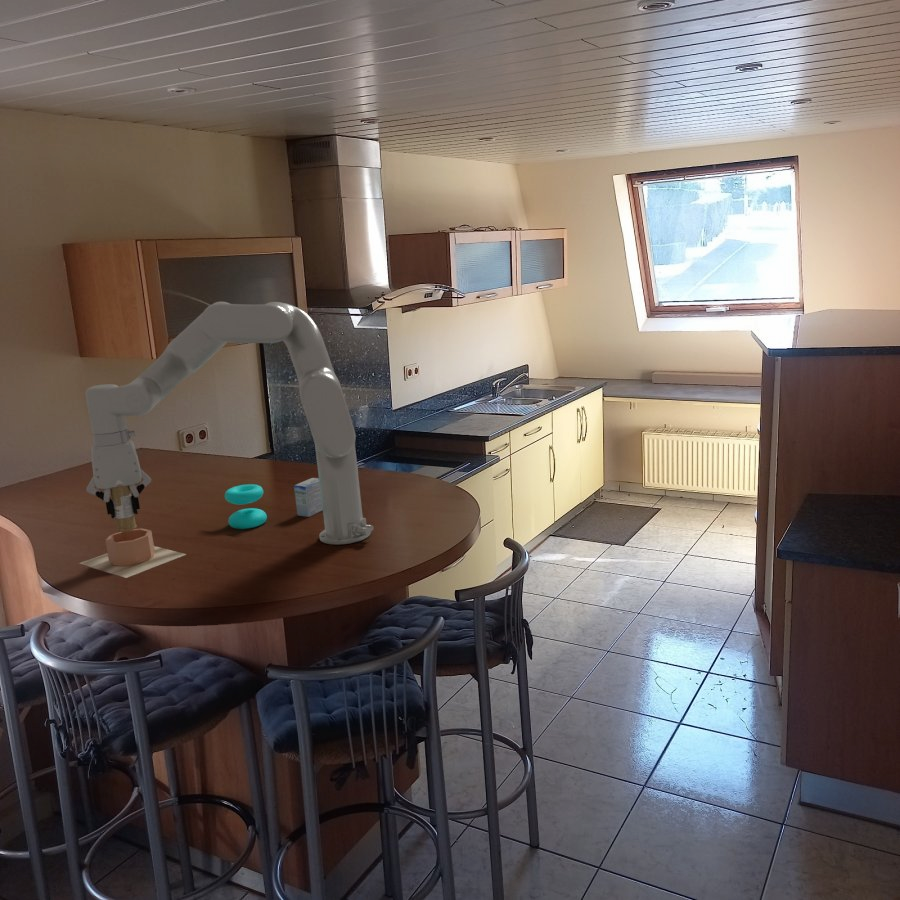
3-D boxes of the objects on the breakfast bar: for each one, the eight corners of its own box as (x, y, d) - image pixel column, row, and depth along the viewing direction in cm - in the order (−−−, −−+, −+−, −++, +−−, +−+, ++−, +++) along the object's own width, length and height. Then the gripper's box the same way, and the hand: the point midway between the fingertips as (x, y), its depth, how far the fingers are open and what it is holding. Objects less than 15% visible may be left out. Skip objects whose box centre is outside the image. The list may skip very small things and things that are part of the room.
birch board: (187, 560, 197) (186, 554, 197) (127, 584, 185) (126, 577, 185) (139, 547, 209) (138, 541, 209) (79, 569, 197) (78, 563, 197)
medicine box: (315, 507, 232) (312, 477, 230) (328, 508, 229) (324, 478, 227) (297, 515, 225) (293, 485, 223) (309, 517, 223) (305, 486, 221)
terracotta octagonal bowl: (162, 555, 198) (158, 532, 196) (125, 569, 190) (121, 545, 189) (139, 549, 203) (135, 526, 202) (102, 562, 196) (98, 539, 195)
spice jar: (113, 530, 195) (103, 475, 192) (131, 525, 198) (121, 470, 195) (122, 533, 192) (112, 477, 189) (141, 528, 195) (131, 472, 192)
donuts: (215, 491, 218) (244, 481, 226) (221, 527, 220) (249, 516, 228) (241, 495, 212) (270, 484, 220) (247, 532, 214) (275, 520, 222)
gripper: (148, 430, 196) (160, 504, 201) (71, 441, 190) (85, 517, 195) (151, 435, 190) (163, 512, 194) (71, 447, 184) (85, 525, 188)
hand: (124, 513), depth 194 cm, fingers closed on spice jar, 4 cm apart
